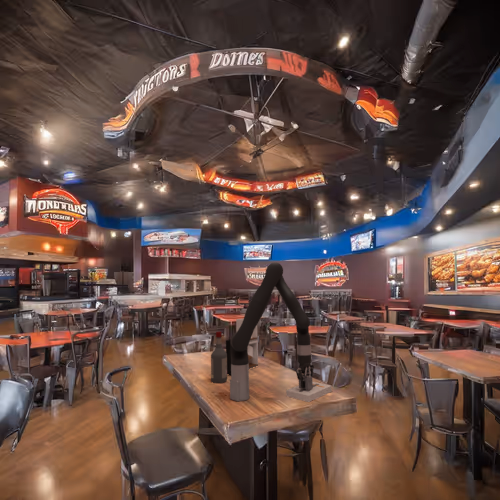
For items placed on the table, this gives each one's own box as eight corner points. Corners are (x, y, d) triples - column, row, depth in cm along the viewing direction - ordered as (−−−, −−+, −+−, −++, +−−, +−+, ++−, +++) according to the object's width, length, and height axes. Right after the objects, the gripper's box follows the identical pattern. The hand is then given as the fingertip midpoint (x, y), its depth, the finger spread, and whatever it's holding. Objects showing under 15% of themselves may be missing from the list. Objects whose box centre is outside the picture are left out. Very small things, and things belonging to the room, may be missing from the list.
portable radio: (232, 372, 213) (232, 335, 217) (239, 373, 210) (238, 335, 213) (224, 374, 207) (224, 336, 211) (231, 375, 204) (230, 337, 207)
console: (308, 402, 152) (308, 395, 152) (286, 396, 161) (286, 389, 162) (331, 391, 167) (331, 385, 167) (310, 386, 177) (309, 380, 177)
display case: (237, 367, 225) (236, 319, 230) (246, 365, 234) (245, 318, 239) (249, 369, 219) (248, 319, 224) (258, 366, 227) (256, 318, 232)
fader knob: (308, 390, 159) (307, 377, 160) (298, 387, 163) (298, 375, 164) (312, 388, 162) (312, 376, 163) (303, 386, 166) (302, 374, 167)
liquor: (227, 379, 196) (227, 331, 200) (225, 383, 187) (224, 332, 191) (213, 379, 197) (213, 331, 201) (210, 383, 188) (210, 332, 192)
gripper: (306, 350, 173) (307, 382, 170) (290, 354, 163) (291, 388, 160) (317, 352, 167) (319, 385, 165) (302, 356, 157) (303, 391, 155)
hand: (305, 386), depth 163 cm, fingers closed on fader knob, 4 cm apart
